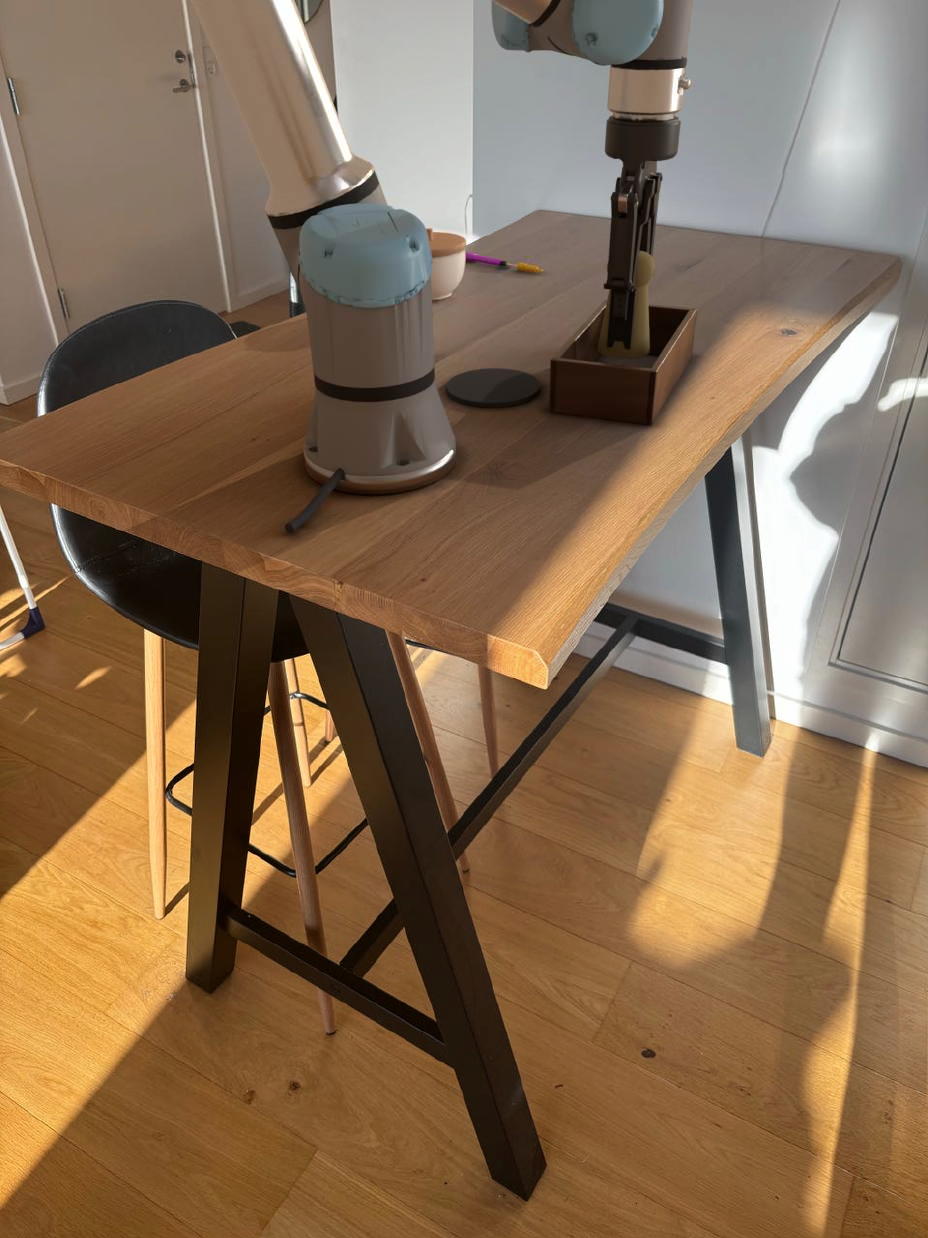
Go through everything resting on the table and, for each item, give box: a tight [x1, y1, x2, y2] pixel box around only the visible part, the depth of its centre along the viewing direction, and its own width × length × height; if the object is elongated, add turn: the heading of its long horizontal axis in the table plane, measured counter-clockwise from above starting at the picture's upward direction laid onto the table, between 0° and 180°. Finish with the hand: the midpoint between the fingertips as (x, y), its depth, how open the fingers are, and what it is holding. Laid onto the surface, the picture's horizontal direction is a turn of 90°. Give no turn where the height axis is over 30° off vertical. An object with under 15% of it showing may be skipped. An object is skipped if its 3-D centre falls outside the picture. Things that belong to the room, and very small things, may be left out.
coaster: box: [445, 367, 541, 408], centre depth 115 cm, size 11×11×1 cm
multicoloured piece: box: [465, 252, 544, 274], centre depth 159 cm, size 3×1×16 cm
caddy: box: [548, 299, 698, 426], centre depth 114 cm, size 23×12×6 cm, turn 158°
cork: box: [597, 251, 655, 360], centre depth 111 cm, size 6×6×11 cm
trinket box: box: [425, 227, 467, 301], centre depth 145 cm, size 11×11×9 cm
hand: (624, 340), depth 113 cm, fingers closed on cork, 4 cm apart
